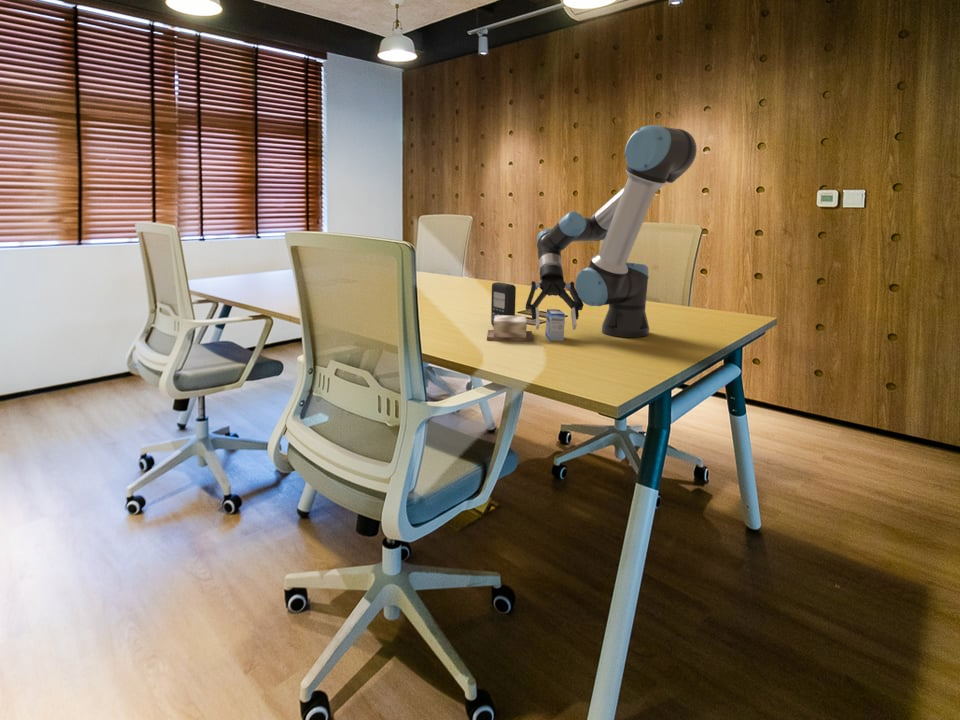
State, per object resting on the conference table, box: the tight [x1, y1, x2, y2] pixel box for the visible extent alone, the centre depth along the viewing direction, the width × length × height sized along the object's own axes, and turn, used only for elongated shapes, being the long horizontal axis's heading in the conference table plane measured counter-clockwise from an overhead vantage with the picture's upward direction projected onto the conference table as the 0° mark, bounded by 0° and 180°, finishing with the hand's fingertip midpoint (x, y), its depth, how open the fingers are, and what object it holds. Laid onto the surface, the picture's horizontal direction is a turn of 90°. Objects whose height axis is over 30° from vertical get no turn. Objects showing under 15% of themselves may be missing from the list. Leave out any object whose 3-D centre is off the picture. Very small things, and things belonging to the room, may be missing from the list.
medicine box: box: [544, 308, 566, 342], centre depth 189 cm, size 8×4×9 cm, turn 5°
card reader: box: [490, 281, 517, 327], centre depth 203 cm, size 9×4×15 cm, turn 37°
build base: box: [486, 315, 534, 343], centre depth 190 cm, size 14×11×6 cm
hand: (556, 327), depth 186 cm, fingers open, 11 cm apart
